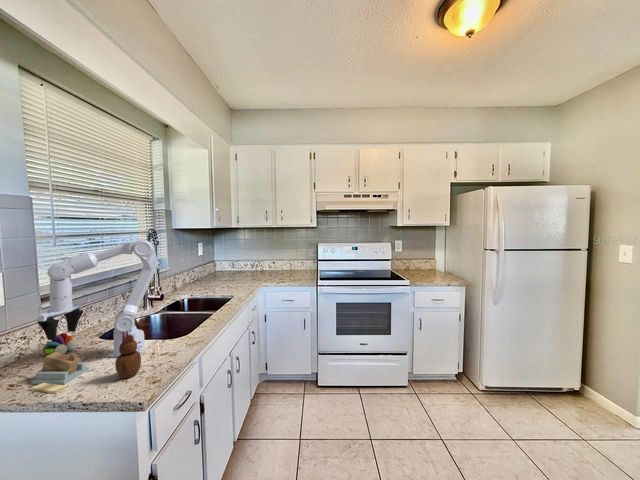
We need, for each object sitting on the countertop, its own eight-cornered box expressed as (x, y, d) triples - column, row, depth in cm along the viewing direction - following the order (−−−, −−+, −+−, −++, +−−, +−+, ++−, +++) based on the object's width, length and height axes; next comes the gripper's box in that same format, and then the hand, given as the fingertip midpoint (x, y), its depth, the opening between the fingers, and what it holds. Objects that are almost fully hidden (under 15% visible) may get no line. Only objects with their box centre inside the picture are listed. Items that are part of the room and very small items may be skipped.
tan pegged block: (76, 371, 92) (80, 352, 91) (66, 376, 88) (71, 357, 88) (52, 364, 92) (57, 346, 91) (41, 370, 88) (46, 351, 88)
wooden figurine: (121, 383, 87) (120, 335, 86) (112, 377, 90) (111, 331, 89) (144, 373, 92) (143, 328, 92) (135, 369, 95) (135, 325, 95)
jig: (88, 369, 94) (88, 361, 94) (64, 384, 86) (64, 374, 85) (59, 369, 95) (59, 360, 94) (31, 384, 86) (31, 374, 85)
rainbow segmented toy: (81, 348, 112) (81, 330, 112) (56, 359, 103) (56, 339, 102) (62, 347, 113) (62, 329, 113) (35, 357, 104) (35, 338, 103)
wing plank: (67, 389, 84) (67, 385, 84) (56, 395, 81) (56, 391, 81) (43, 386, 85) (43, 382, 85) (31, 392, 82) (31, 388, 82)
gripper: (68, 292, 105) (69, 328, 105) (27, 301, 90) (29, 343, 90) (87, 292, 105) (88, 328, 105) (49, 302, 90) (50, 343, 90)
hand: (62, 335), depth 98 cm, fingers open, 7 cm apart
